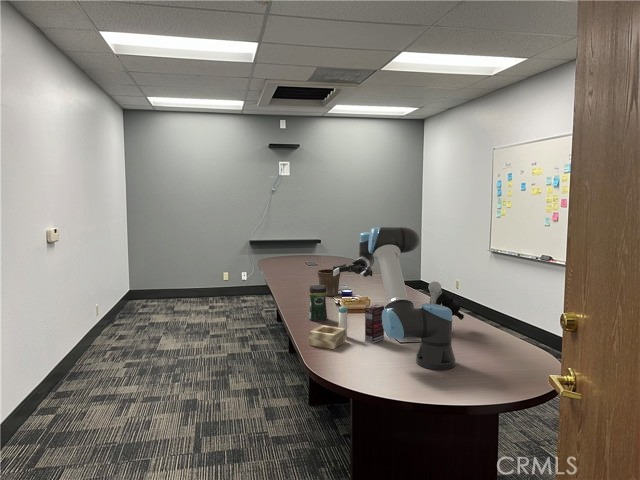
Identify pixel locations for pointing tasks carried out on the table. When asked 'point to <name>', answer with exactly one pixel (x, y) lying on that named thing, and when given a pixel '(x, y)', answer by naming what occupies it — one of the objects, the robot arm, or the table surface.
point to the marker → (343, 319)
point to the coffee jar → (317, 302)
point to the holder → (327, 336)
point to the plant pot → (329, 281)
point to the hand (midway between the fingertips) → (347, 275)
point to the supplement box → (374, 323)
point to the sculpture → (443, 299)
